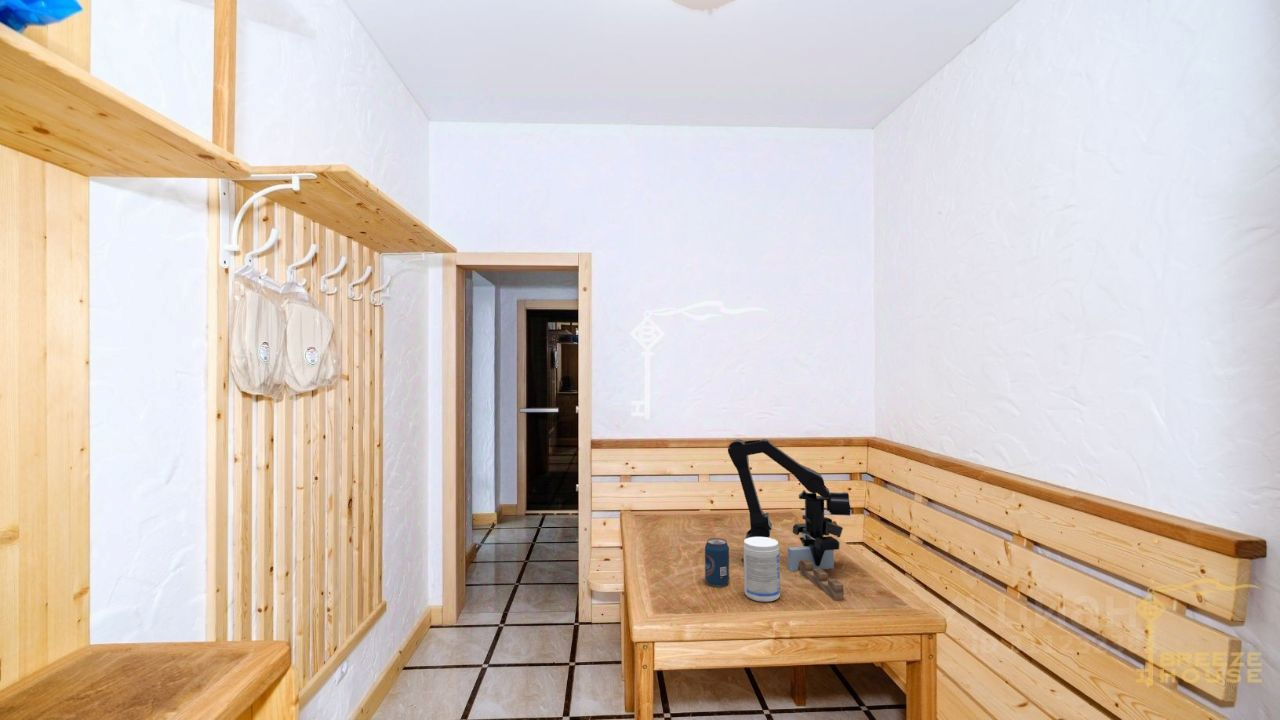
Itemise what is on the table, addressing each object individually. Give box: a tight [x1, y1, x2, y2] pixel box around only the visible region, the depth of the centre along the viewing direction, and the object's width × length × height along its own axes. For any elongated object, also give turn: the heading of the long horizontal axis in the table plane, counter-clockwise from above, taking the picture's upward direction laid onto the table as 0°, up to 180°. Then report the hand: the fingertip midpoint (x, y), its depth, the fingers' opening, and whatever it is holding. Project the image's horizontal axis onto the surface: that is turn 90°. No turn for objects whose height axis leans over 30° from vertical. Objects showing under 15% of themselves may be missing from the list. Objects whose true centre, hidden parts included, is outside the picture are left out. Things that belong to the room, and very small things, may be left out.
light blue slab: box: [787, 546, 835, 573], centre depth 168 cm, size 14×2×6 cm, turn 101°
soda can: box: [704, 537, 730, 588], centre depth 157 cm, size 7×7×12 cm
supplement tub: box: [743, 537, 781, 603], centre depth 148 cm, size 10×10×15 cm
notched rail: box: [799, 559, 845, 601], centre depth 154 cm, size 20×2×4 cm, turn 11°
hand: (815, 564), depth 168 cm, fingers open, 3 cm apart
